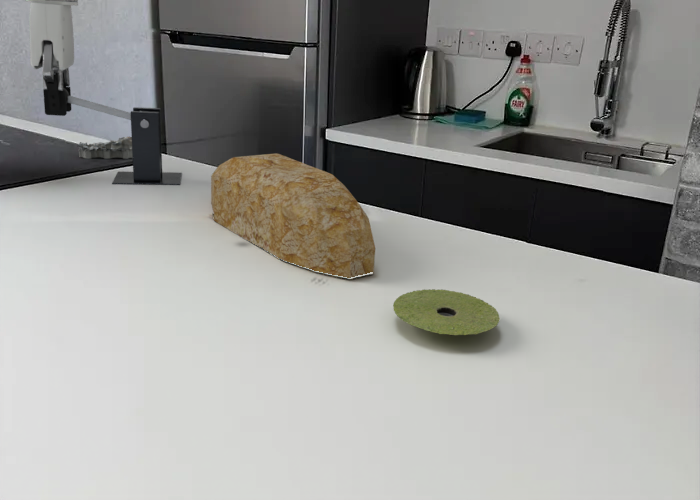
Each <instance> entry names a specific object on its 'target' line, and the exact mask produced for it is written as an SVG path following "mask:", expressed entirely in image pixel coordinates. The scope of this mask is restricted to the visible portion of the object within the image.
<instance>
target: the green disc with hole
mask: <svg viewBox="0 0 700 500" xmlns="http://www.w3.org/2000/svg"><path fill="white" fill-rule="evenodd" d="M392 304H393V305H392V307H393V312H394V313H395V315H396V316H397V317H398V318H399V319H400V320H401V321H403V322H404V323H406V324H408V325H410V326H414V327H415V328H418V329H421V330H424V331H427V332H431V333H435V334H439V335H449V336H450V335H452V336H467V335H479V334H482V333H485V332H487V331H490V330H492V329H494V328H495V327H497V326H498V324H499V323H500V319H501V317H500V313H499V312H498V311H497V309H496V308H495V306H493V305H492V304H489V303H488V302H487V301H484V300H483V299H480V298H478V297H476V296H473V295H470V294H468V293H464V292H459V291H454V290H448V289H433V288H432V289H425V288H424V289H421V290H420V289H417V290H413V291H409V292H406V293H404V294H401V295H399V296H398V297H397V298H395V300H394V301H393V303H392Z"/></svg>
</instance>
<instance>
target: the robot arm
mask: <svg viewBox="0 0 700 500" xmlns="http://www.w3.org/2000/svg"><path fill="white" fill-rule="evenodd" d="M24 2H27V3H29V59H30V60H29V61H30V62H29V63H30V67H31V68H32V69H34V70H38V69H42V72H41V73H42V88H43V89H42V91H43V104H44V105H43V106H44V115H46V116H59V117H64V116H66V115H67V114H68V113H69V112H71V111H72V104H71V103H67V104H66V91H65V90H63V88H65V89H66V90H67V91H68V93H69V96H72V93H71V92H72V91H71V86H70V84H71V82H70V80H71V79H70V69H69V68H70V67H72V66H73V65H74V63H75V39H74V25H73V11H72V6H76V7H77V6H79V0H25V1H24Z"/></svg>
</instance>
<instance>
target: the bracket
mask: <svg viewBox="0 0 700 500" xmlns="http://www.w3.org/2000/svg"><path fill="white" fill-rule="evenodd" d="M129 113H131V120H130V131H131V132H130V133H131V137H132V156H133V157H132V171H117V172H116V174H115V176H114V178H113V180H112V182H111V185H124V186H125V185H127V186H129V185H130V186H131V185H132V186H135V185H136V186H138V185H139V186H143V185H145V186H181V182H182V176H183V173H182V172H176V171H175V172H174V171H173V172H170V171H169V172H168V171H167V172H166V171H165V172H164V171H163V151H162V149H163V147H162V146H163V145H162V117H161V108H160V107H139V106H138V107H137V106H136V107H135V106H134V107H133V108H132V110H131V111H129Z"/></svg>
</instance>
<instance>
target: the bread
mask: <svg viewBox="0 0 700 500" xmlns="http://www.w3.org/2000/svg"><path fill="white" fill-rule="evenodd" d="M210 184H211V185H210V200H211V201H210V204H211V207H212V211H213V213H212V218H213V221H214V222H216V223H217V224H219V225H220V226H222V227H224V228H225V229H227V230H229V231H231V232H232V233H234V234H235V235H237V234H238V235H237V236H239V237H241V238H242V237H243V239H244V240H246V241H247V240H248V241H247V242H249V241H250V242H249V243H251V242H252V243H253V244H252V243H251V244H252V245H254V244H255V245H254V246H256V245H257V246H259V247H261V248H263V249H264V250H266V251H268V252H269V253H271V254H273V255H275V256H276V257H278V258H280V259H282V260H284V261H287V262H290V263H294V264H296V265H299V266H302V267H306V268H309V269H312V270H314V271H319V272H323V273H328V274H332V275H338V276H343V277H347V278H351V277H355V276H358V275H363V274H367V273H370V272H373V273H375V272H374V271H375V259H376V245H375V241H374V236H373V232H372V226H371V221H370V218H369V216H368V215H367V213H366V212H365V210H364V209H363V207H362V206H361V205H360V203H359V202H358V200H357V199H356V198H355V196H354V195H353V194H352V193H351V192H350V190H349V189H348V188H347V187H346V185H345V184H344V183H342V181H340V180H339V179H338V178H337V177H336V176H335V175H334V174H332V173H330V172H327V171H325V170H323V169H320V168H317V167H314V166H311V165H310V164H306V163H303V162H302V161H299V160H295V159H293V158H290V157H288V156H286V155H282V154H280V153H278V152H277V153H276V152H275V153H266V154H254V155H243V156H233V157H231V158H229V159H228V160H225V161H224V162H223V163H221V164H219V165H217V167H216V169H215V170H214V171H213V173H212V174H211V175H210ZM257 246H256V247H257ZM259 247H258V248H259ZM261 248H260V249H261ZM264 250H263V251H264ZM266 251H265V252H266ZM268 252H267V253H268ZM269 253H268V254H269ZM271 254H270V255H271ZM273 255H272V256H273ZM276 257H275V258H276ZM278 258H277V259H278Z"/></svg>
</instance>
